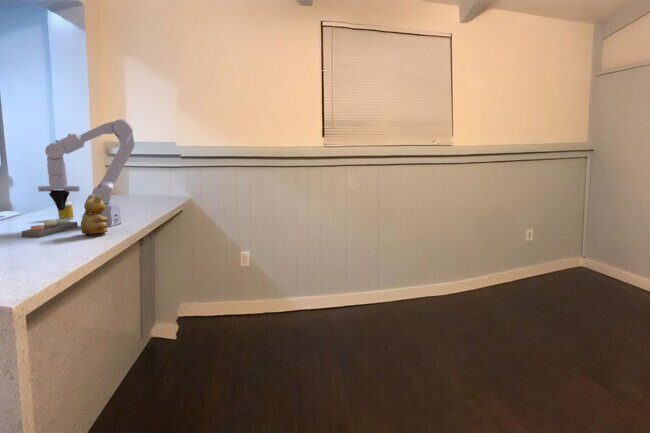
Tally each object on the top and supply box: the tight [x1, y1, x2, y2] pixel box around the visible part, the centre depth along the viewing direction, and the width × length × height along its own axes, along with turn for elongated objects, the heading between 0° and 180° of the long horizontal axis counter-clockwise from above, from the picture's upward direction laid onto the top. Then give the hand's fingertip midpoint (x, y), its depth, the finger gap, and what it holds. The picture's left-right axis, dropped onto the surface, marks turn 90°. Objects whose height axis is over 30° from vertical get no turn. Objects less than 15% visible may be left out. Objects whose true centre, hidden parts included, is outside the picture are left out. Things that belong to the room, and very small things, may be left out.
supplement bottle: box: [57, 196, 74, 221], centre depth 174 cm, size 5×5×10 cm
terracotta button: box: [30, 224, 44, 231], centre depth 145 cm, size 4×4×2 cm
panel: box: [20, 221, 79, 238], centre depth 151 cm, size 7×19×2 cm, turn 173°
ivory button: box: [43, 218, 58, 227], centre depth 150 cm, size 4×4×2 cm
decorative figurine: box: [80, 193, 109, 237], centre depth 144 cm, size 10×8×15 cm
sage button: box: [56, 219, 70, 225], centre depth 156 cm, size 4×4×2 cm
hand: (61, 209), depth 155 cm, fingers closed
